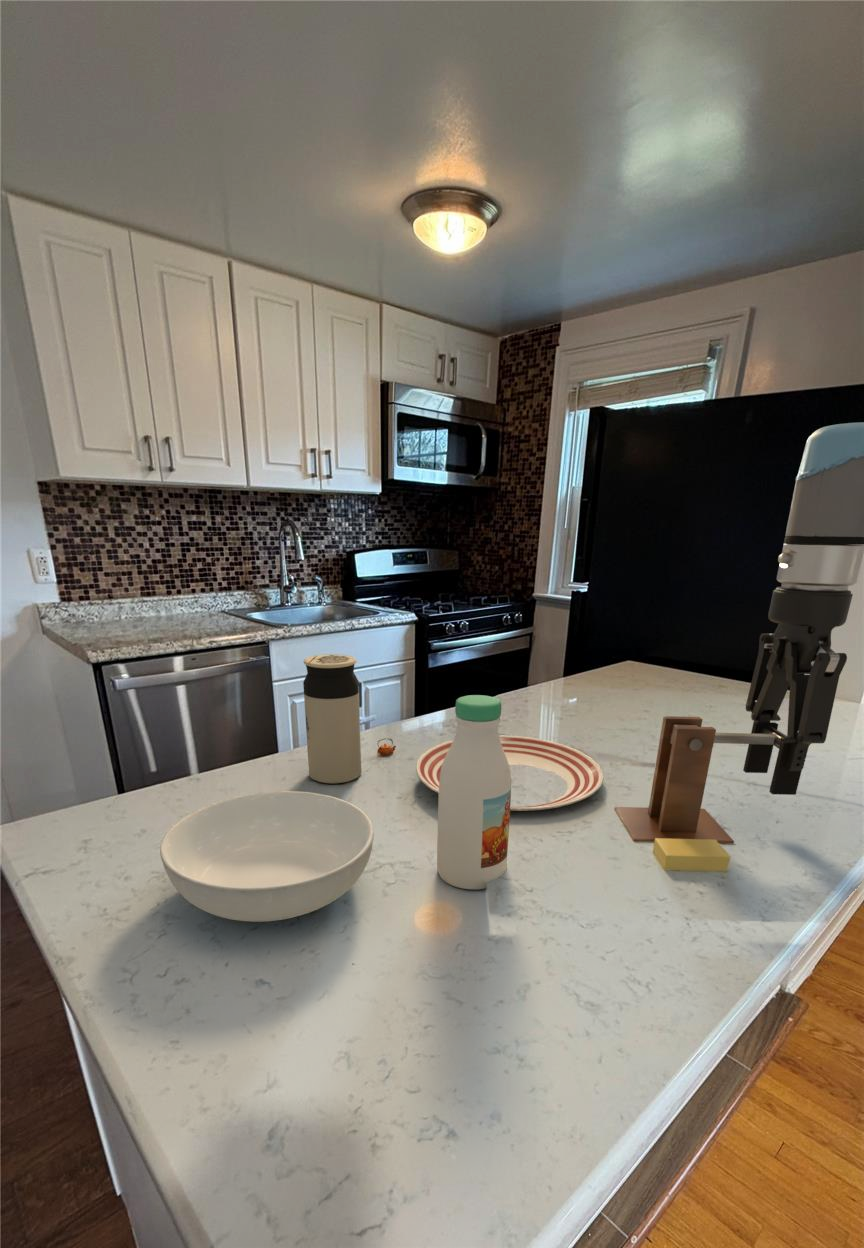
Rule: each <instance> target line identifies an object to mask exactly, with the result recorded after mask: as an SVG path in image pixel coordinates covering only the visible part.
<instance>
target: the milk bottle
mask: <svg viewBox="0 0 864 1248" xmlns="http://www.w3.org/2000/svg"><path fill="white" fill-rule="evenodd" d="M454 707H455V708H454V711H455V712H454V713H455V718H454V720H455V722H456V723H457V724H456V725H457V726H456V731H455V734H454V738H453V739H452V740H453V742H452V745H451V747H450V749H449V751H448V752H447V754H446V757H445V759H444V761H443V764H442V768H441V772H440V780H439V793H438V797H437V798H438V799H437V801H438V803H437V840H436V841H437V842H436V843H437V844H436V847H437V848H436V869H437V872H438V875H439V876H440V878H441V879H442V880H443V881H444V882H445V883H447V884H448V885H450V886H453V887H456V888H459V889H465V890H484V889H487V888H488V887H487V886H488V885H487V882H489V881H493V880H496V879H497V878H499V877H501V876H502V875H504V873H505V872H506V870H507V863H508V848H509V833H510V819H511V810H510V807H511V801H512V772H511V768H510V765H509V763H508V760H507V757H506V755H505V753H504V750H503V748H502V745H501V742H500V738H499V735H500V734H499V733H500V732H499V724H500V723H501V721H502V720H501V716H502V701H501V700H500V699H499V698H497V697H494V696H491V695H490V696H489V695H484V694H483V695H481V694H470V695H464V696H463V695H462V696H460V697H458V698H457V699H456V700H455V706H454Z"/></svg>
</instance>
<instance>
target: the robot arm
mask: <svg viewBox="0 0 864 1248" xmlns="http://www.w3.org/2000/svg"><path fill="white" fill-rule="evenodd" d="M784 536H785V537H784V541H783V547H782V551H781V554H779V555H778V558H777V562H778V563H779V564H778V565H779V566H778V570H777V574H776V581H777V582H778V583H781V586H777V587H776V588H775V589H773V590H772V596H771V601H770V605H769V610H768V615H767V616H768V620H769V621H771V622H772V623H774V624H775V623H776V624H778V625H777V627H776V629H775V631H774V633H761V634H760V636H759V641H758V654H757V658H756V661H755V666H754V671H753V674H752V679H751V682H750V685H749V686H750V687H749V691H748V695H747V699H746V703H745V711H746V712H750V713H751V714H750V718H751V720H752V721H753V722H752V728H751V731H750V734H760V730H761V728H762V727H764V726H767V725H769V726H772V727H773V728H775V729H777V730H778V728H779V724H778V723H777V722H780V721H781V720H782V718H781V716H780V715H779V714H778V713H779V711H780V708H781V706H782V703H783V701H784V699H785V697H786V695H787V693H788V691H789V695H788V714H787V731H786V732H787V733H786V736H787V738H780V740H781V744H780V748H778V752H777V757H776V761H775V765H774V769H773V775H772V778H771V783H770V786H769V791H768V792H769V793H770V794H771V795H787V796H790V795H791V796H793V795H794V796H795V795H797V791H798V786H799V783H800V779H801V776H802V771H803V769H804V767H805V763H806V758H807V756H808V751H809V747H810V746H811V745H812V744H824V743H825V742H826V740H827V736H828V732H829V727H830V722H831V717H832V712H833V708H834V703H835V699H836V695H837V689H838V684H839V680H840V676H841V674H842V672H843V669H844V668H845V665H846V663H847V659H848V655H847V653H846V652H835V651H834V650H833V649H832V648H831V647H832V631H833V629H835V628H838V627H842V626H843V625H845V623H846V622H847V619H848V616H849V612H850V607H851V603H852V600H853V595H854V594H853V593H852V591H851V590H849V587H851V586H854V585H855V584H857V582H858V578H859V573H860V570H861V565H862V562H863V558H864V422H862V421H861V422H848V423H847V422H846V423H838V424H832V425H826V426H823V427H820V428H818V429H816V430H815V431H813V432H812V433H811V435H809V436H808V438H807V440H806V442H805V446H804V449H803V454H802V458H801V462H800V466H799V469H798V473H797V475H796V477H795V484H794V490H793V493H792V499H791V505H790V510H789V515H788V520H787V525H786V531H785V535H784ZM774 747H775V746H774V745H765V744H748V746H747V751H746V754H745V755H746V756H745V760H744V765H743V770H742V771H743V772H744V773H746V774H768V771H769V767H770V762H771V758H772V754H773V750H774Z"/></svg>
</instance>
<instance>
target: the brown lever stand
mask: <svg viewBox="0 0 864 1248" xmlns="http://www.w3.org/2000/svg"><path fill="white" fill-rule="evenodd" d="M673 725H697V726H698V727H682V726H675V731H674V736H673V742H672V744H671V743H670V741H671V736H672V730H673ZM702 725H703V718H701V717H700V716H672V715H671V716H670V715H669V716H668V715H664V716H663V717H662V723H661V730H660V736H659V742H658V748H657V756H656V761H655V767H654V771H653V773H654V774H653V779H652V785H651V792H650V798H649V803H648V804H649V805H648V807H641V806H640V807H637V806H614V808H613V809H614V811H615V813H616V815H617V816H618V818H619V819H620V822H622V824H623V826H624V828H625V830H626V831H627V833H628V835H629V836H630V838H631V840H632V841H633V842H641V843H643V842H645V843H646V842H647V843H649V842H650V843H654V842H655V838H665V839H711V840H716V841H717V842H718V843H719V844H734V843H735V840H734V839H733V838H732V837H731V836H730V835H729V833H727V832H726V831H725V829H724V828H723V827H722V826H721V825H720V824H719V823H718V822H717V821H716V819H715V818H714V817H713V816H712V815H711V814H710V813H709V812H708V811H707V810H706V809H705V808H702V804H703V798H704V793H705V788H706V784H707V779H708V773H709V767H710V763H711V759H712V753H713V748H714V744H715V743H714V738H715V733H717V729H716V728H715V727H713V726H702Z"/></svg>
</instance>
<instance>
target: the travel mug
mask: <svg viewBox="0 0 864 1248" xmlns="http://www.w3.org/2000/svg"><path fill="white" fill-rule="evenodd" d="M356 663H357V659H356V658H355V657H354V656H351V655H346V654H336V653H335V654H334V653H333V654H318V655H317V654H316V655H311V656H308V657H306V658H304V659H303V664H304V665H305V667H306V672H307V673H306V676H305V677H304V680H303V682H302V684H303V685H302V686H303V699H304V701H303V702H304V715H305V729H306V730H305V731H306V732H305V733H306V745H307V747H306V748H307V760H308V761H307V762H308V775H309V777H310V778H311V779H312V780H314V781H317V782H318V783H323V784H329V785H333V784H343V783H348V782H351V781H353V780H355V779H357V778H358V777H360V776H361V774H362V750H361V749H362V748H361V747H362V746H361V744H362V743H361V717H360V716H361V715H360V713H361V712H360V685H359V683H360V681H359V679H358V677H357V675H356V674H355V672H354V671H355V665H356Z"/></svg>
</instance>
